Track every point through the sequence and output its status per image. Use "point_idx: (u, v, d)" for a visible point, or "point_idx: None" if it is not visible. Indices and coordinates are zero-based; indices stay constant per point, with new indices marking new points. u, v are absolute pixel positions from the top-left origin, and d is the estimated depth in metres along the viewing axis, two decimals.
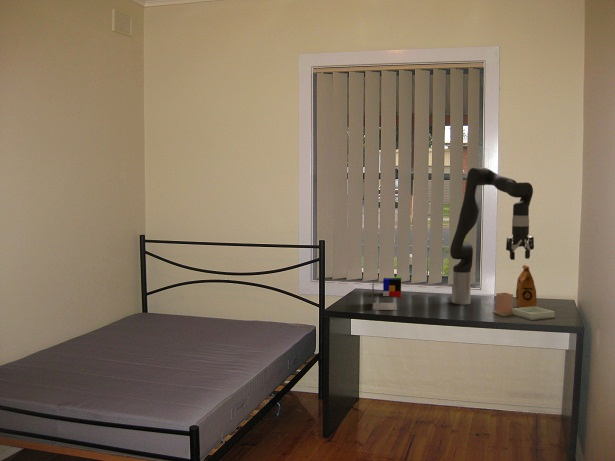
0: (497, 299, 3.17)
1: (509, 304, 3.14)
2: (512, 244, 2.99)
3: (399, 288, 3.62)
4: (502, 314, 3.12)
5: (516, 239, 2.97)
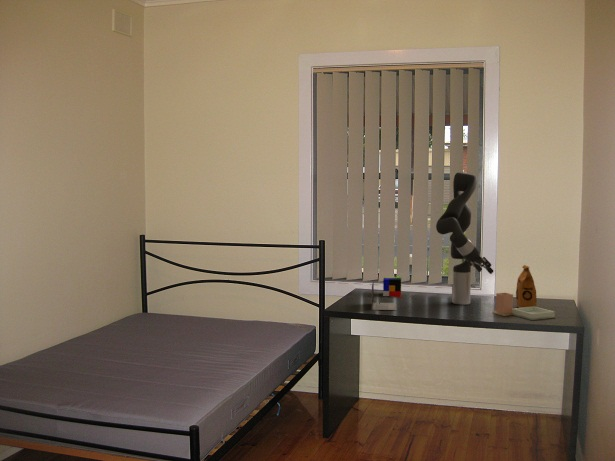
0: (497, 299, 3.17)
1: (509, 304, 3.14)
2: None
3: (399, 288, 3.62)
4: (502, 314, 3.12)
5: None
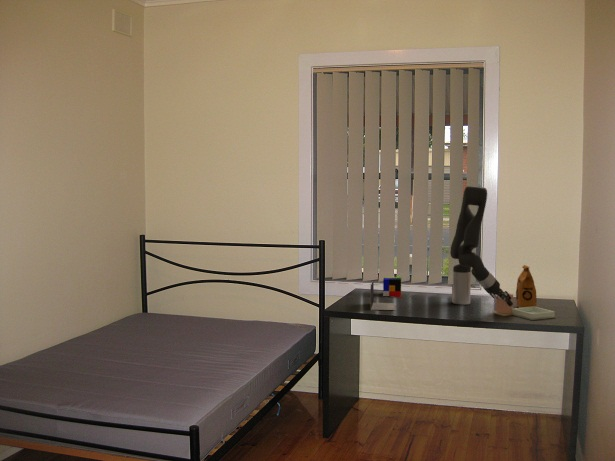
0: (497, 299, 3.17)
1: None
2: None
3: (399, 288, 3.62)
4: (502, 314, 3.12)
5: None
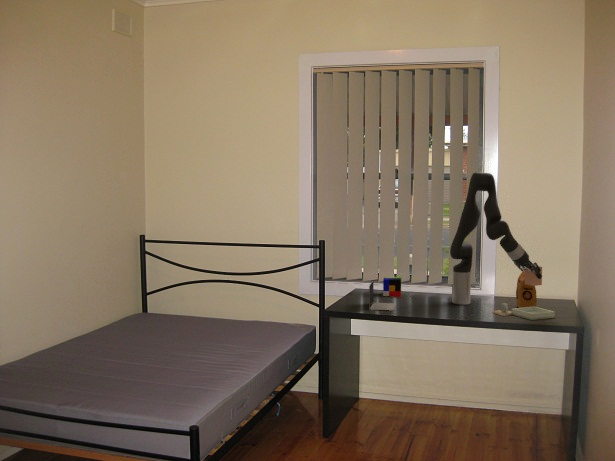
0: (525, 272, 3.10)
1: None
2: None
3: (399, 288, 3.62)
4: (502, 314, 3.12)
5: None
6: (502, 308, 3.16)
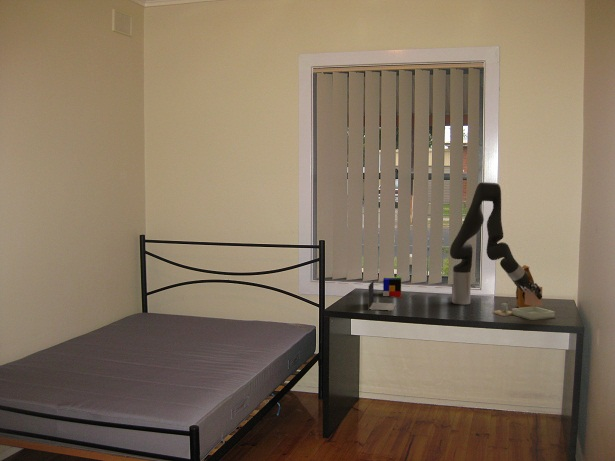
0: (525, 292, 3.10)
1: None
2: None
3: (399, 288, 3.62)
4: (502, 314, 3.12)
5: None
6: (502, 308, 3.16)
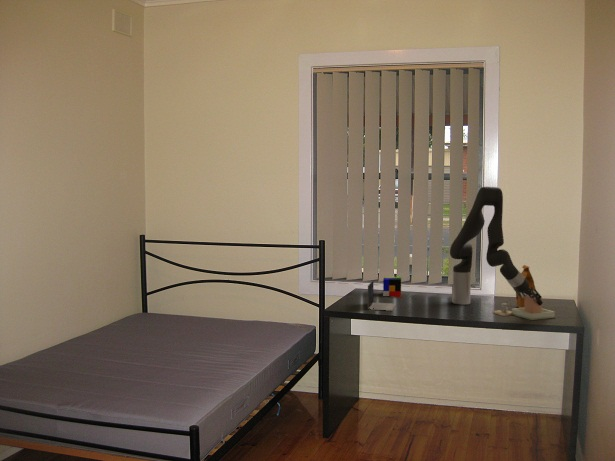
0: (525, 302, 3.11)
1: (538, 307, 3.08)
2: None
3: (399, 288, 3.62)
4: (502, 314, 3.12)
5: None
6: (502, 308, 3.16)
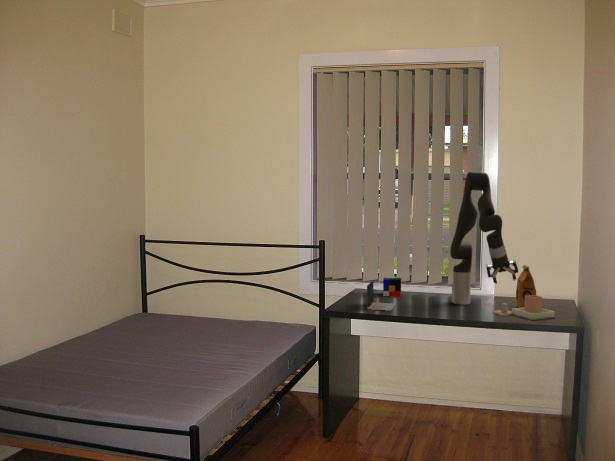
0: (525, 302, 3.11)
1: (538, 307, 3.08)
2: (494, 269, 3.08)
3: (399, 288, 3.62)
4: (502, 314, 3.12)
5: (494, 267, 3.05)
6: (502, 308, 3.16)
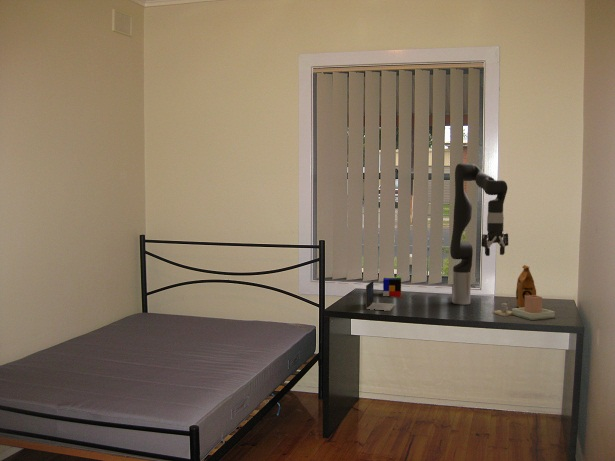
0: (525, 302, 3.11)
1: (538, 307, 3.08)
2: (487, 240, 3.07)
3: (399, 288, 3.62)
4: (502, 314, 3.12)
5: (491, 235, 3.05)
6: (502, 308, 3.16)
